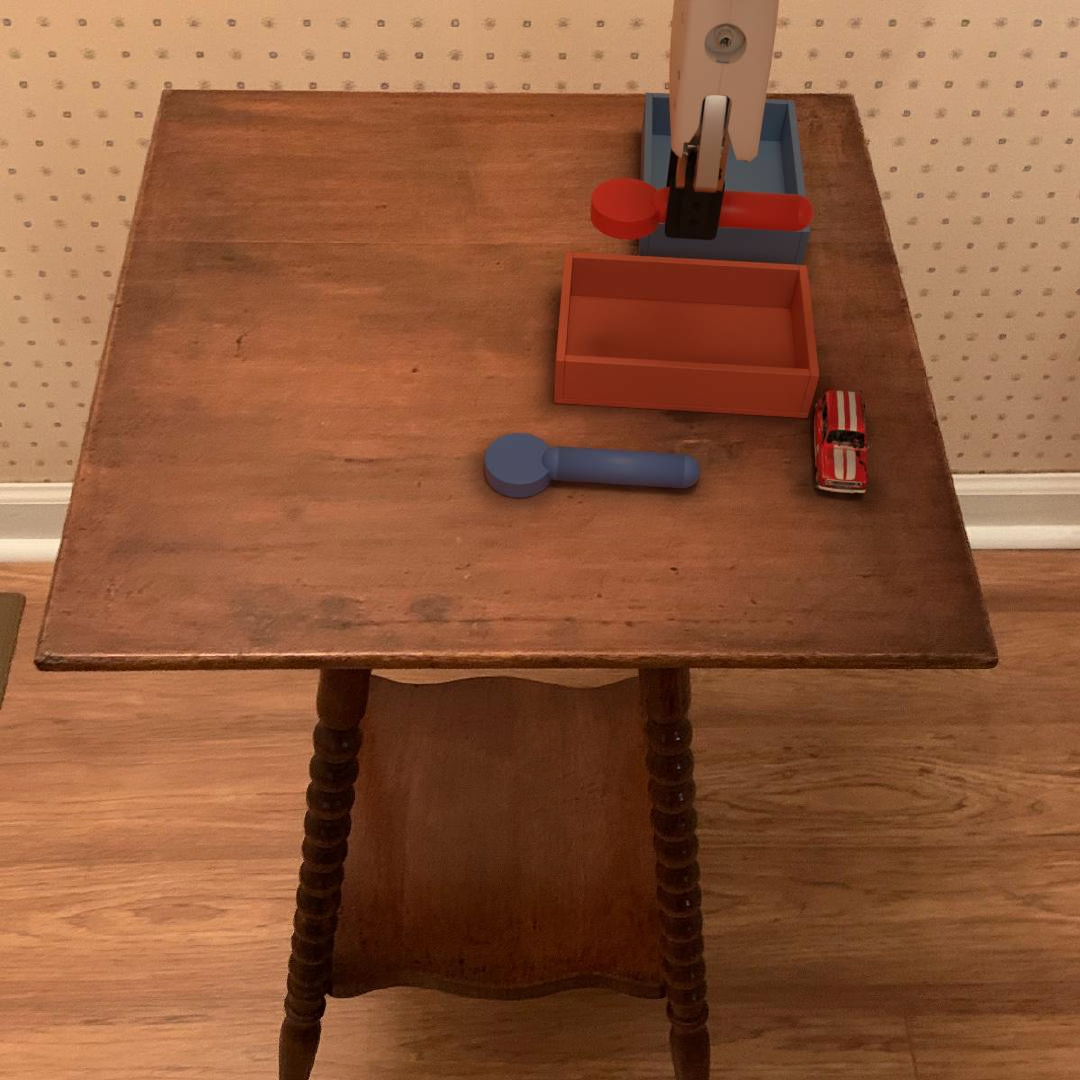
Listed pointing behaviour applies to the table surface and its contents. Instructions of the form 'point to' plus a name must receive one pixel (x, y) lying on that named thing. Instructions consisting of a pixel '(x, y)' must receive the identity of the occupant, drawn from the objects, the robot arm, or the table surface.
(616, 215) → the red spoon
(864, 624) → the table surface
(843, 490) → the toy car
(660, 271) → the red bin
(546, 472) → the blue spoon
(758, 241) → the blue bin
